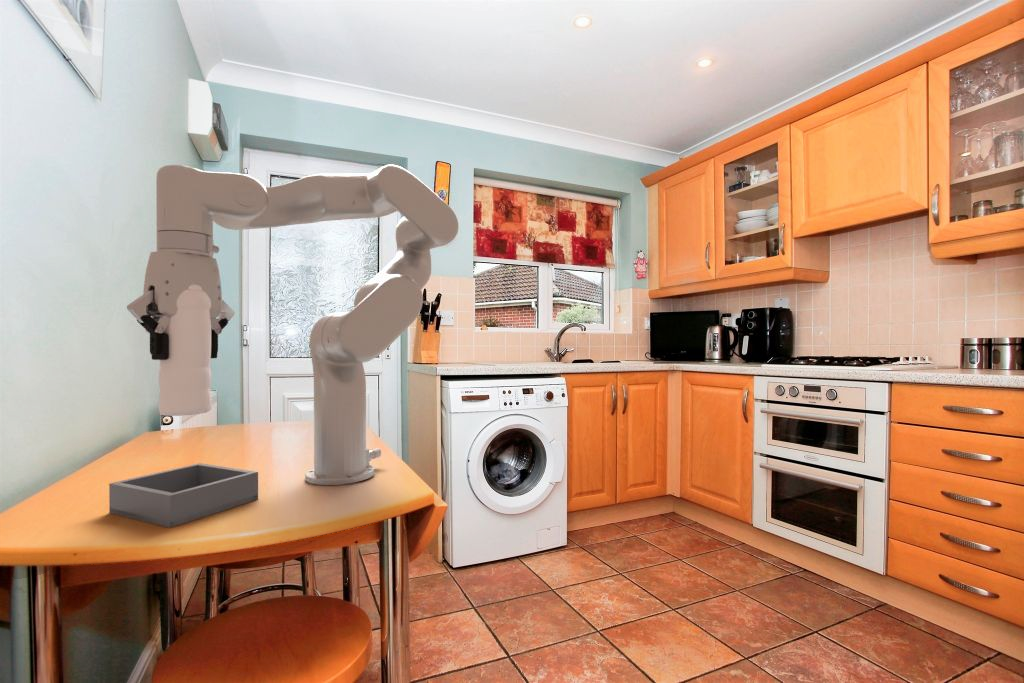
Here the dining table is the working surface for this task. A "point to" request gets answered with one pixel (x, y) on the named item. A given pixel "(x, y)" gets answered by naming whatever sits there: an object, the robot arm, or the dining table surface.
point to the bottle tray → (182, 494)
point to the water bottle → (187, 357)
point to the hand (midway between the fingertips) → (185, 358)
